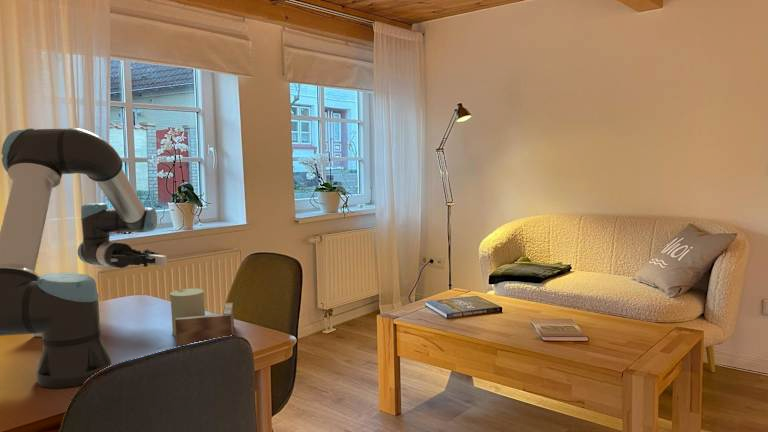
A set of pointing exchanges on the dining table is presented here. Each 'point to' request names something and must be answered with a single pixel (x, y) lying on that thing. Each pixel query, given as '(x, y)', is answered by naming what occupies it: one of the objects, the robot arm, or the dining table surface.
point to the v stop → (204, 326)
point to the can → (186, 304)
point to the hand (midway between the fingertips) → (164, 261)
